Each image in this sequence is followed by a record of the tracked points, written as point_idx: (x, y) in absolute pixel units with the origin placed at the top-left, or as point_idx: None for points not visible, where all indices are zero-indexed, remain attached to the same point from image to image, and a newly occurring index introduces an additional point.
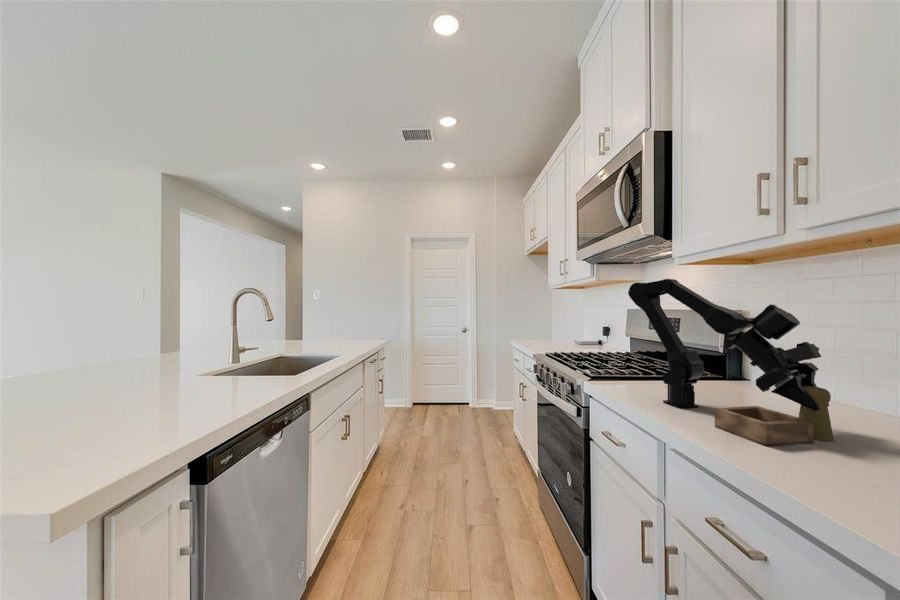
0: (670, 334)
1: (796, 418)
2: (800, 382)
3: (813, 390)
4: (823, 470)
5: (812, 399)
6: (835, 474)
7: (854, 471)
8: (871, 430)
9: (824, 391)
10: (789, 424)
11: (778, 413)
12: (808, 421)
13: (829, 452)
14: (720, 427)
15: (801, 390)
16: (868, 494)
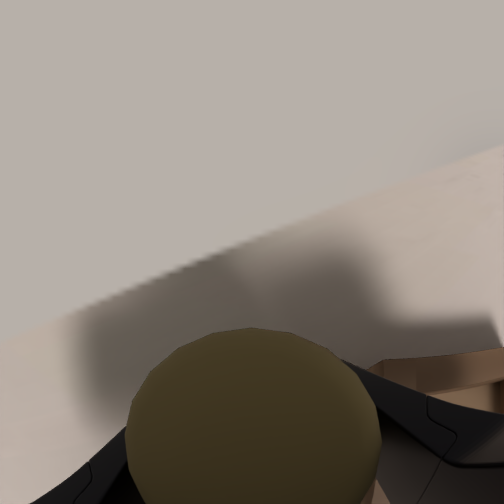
0: None
1: None
2: (488, 457)
3: (358, 396)
4: (486, 232)
5: (369, 386)
6: (478, 217)
7: (439, 214)
8: (22, 370)
9: (273, 339)
10: (488, 351)
11: None
12: (404, 363)
13: (392, 301)
14: None
15: (470, 409)
16: (477, 173)
